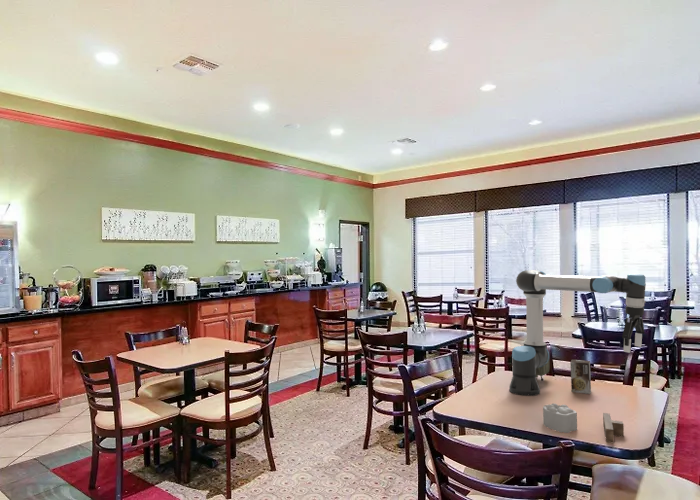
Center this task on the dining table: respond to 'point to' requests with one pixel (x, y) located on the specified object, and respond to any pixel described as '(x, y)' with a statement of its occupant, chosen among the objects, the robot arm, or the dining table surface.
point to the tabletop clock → (542, 370)
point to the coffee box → (580, 376)
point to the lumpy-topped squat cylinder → (560, 418)
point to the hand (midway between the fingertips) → (632, 349)
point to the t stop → (612, 427)
